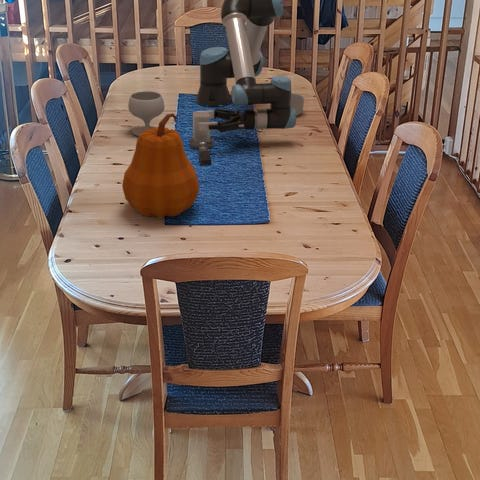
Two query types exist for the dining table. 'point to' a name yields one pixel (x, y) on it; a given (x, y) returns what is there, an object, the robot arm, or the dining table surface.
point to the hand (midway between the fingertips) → (197, 120)
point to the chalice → (145, 108)
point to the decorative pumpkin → (160, 174)
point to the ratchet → (203, 150)
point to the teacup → (297, 102)
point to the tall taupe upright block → (198, 135)
